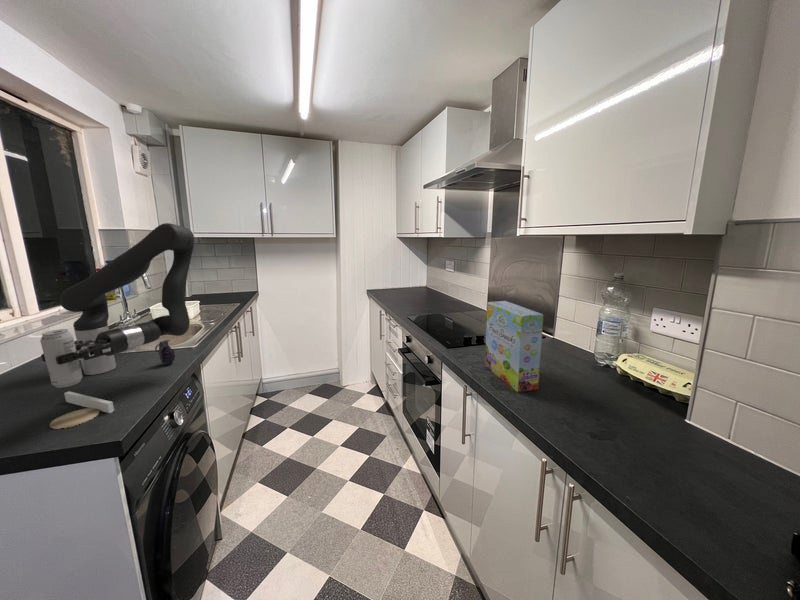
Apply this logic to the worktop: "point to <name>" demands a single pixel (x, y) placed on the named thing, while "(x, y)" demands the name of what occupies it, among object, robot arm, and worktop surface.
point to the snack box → (514, 344)
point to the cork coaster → (74, 418)
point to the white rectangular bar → (89, 402)
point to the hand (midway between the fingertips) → (49, 359)
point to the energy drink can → (56, 346)
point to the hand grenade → (165, 352)
